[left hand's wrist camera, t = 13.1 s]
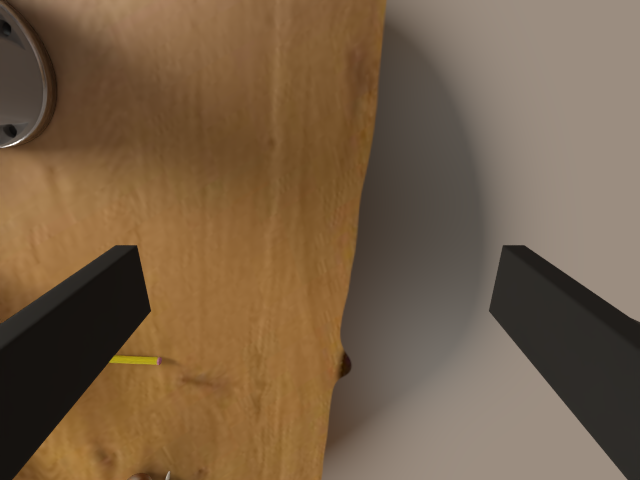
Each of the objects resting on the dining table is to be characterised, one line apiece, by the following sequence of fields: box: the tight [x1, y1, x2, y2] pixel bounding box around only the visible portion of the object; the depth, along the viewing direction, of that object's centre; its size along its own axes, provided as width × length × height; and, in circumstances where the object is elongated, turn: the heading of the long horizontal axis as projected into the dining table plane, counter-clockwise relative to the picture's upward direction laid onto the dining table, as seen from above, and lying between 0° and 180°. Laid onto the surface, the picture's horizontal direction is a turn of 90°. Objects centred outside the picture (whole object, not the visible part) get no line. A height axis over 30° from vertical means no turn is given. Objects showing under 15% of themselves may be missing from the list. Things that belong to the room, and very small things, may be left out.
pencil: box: [109, 355, 162, 365], centre depth 48 cm, size 16×1×1 cm, turn 87°
